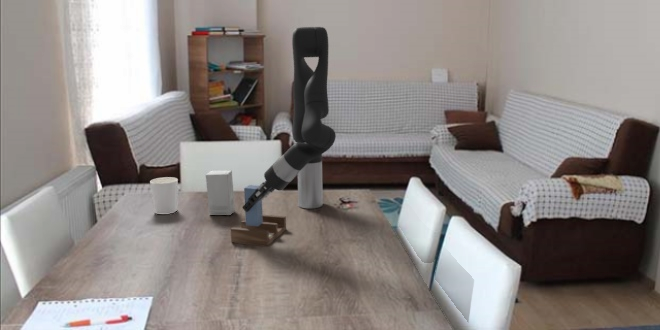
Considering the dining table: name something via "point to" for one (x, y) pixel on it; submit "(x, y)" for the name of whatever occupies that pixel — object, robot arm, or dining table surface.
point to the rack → (259, 231)
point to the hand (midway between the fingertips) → (247, 207)
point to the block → (253, 208)
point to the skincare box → (220, 192)
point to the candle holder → (165, 194)
